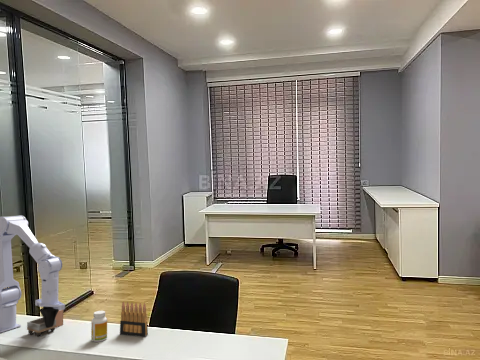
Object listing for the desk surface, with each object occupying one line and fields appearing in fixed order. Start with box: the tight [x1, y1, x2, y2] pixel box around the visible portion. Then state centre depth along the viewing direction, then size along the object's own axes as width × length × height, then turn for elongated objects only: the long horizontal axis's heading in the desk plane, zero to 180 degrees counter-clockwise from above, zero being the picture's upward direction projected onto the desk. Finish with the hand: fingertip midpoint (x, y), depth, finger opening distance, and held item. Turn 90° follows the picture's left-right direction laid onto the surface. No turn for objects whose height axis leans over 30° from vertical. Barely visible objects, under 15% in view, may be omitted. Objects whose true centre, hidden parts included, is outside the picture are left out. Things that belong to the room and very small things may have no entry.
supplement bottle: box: [90, 310, 108, 343], centre depth 137 cm, size 5×5×10 cm
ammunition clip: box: [119, 301, 149, 338], centre depth 142 cm, size 11×2×12 cm, turn 76°
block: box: [55, 310, 64, 329], centre depth 152 cm, size 4×4×6 cm
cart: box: [26, 316, 57, 337], centre depth 144 cm, size 7×7×4 cm
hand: (49, 326), depth 142 cm, fingers closed
